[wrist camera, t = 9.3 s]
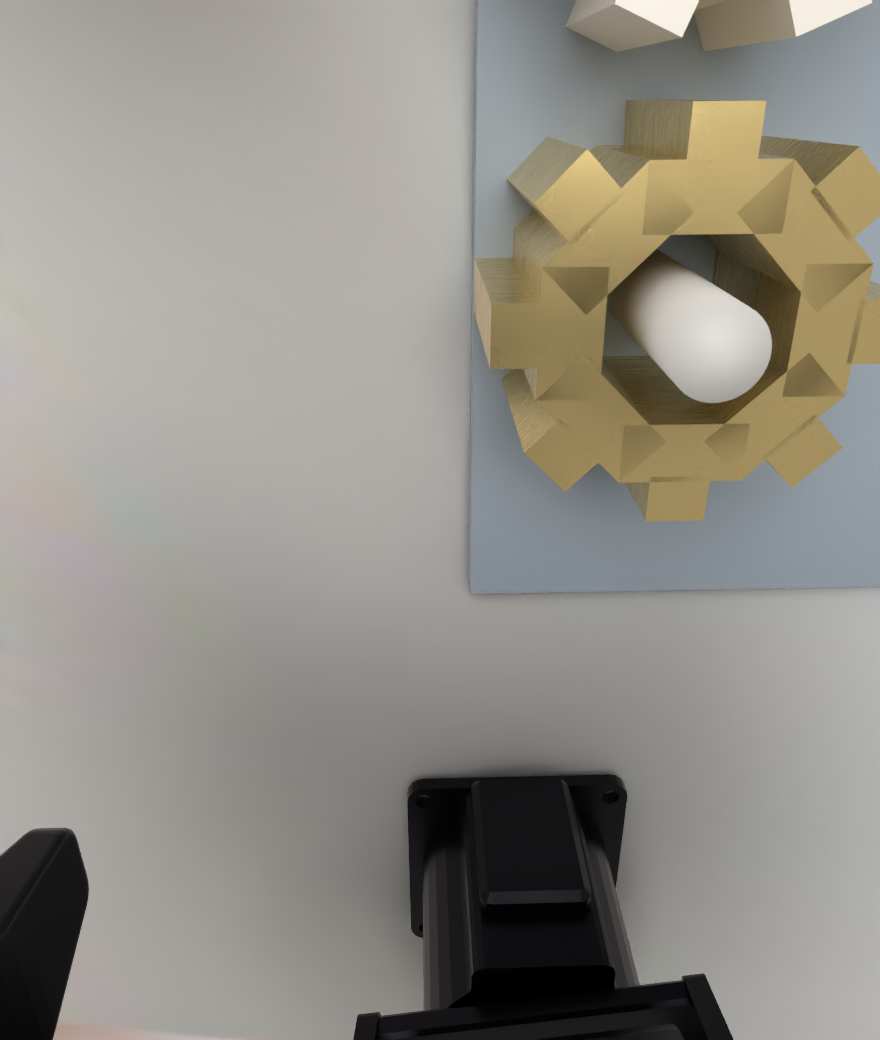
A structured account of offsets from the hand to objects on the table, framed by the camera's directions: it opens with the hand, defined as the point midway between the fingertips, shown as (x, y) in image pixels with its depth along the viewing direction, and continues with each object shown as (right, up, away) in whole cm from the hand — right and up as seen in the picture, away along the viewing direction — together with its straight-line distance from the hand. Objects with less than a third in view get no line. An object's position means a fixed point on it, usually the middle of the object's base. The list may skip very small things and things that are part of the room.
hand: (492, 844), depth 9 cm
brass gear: (+4, +9, +9) cm, 13 cm away
